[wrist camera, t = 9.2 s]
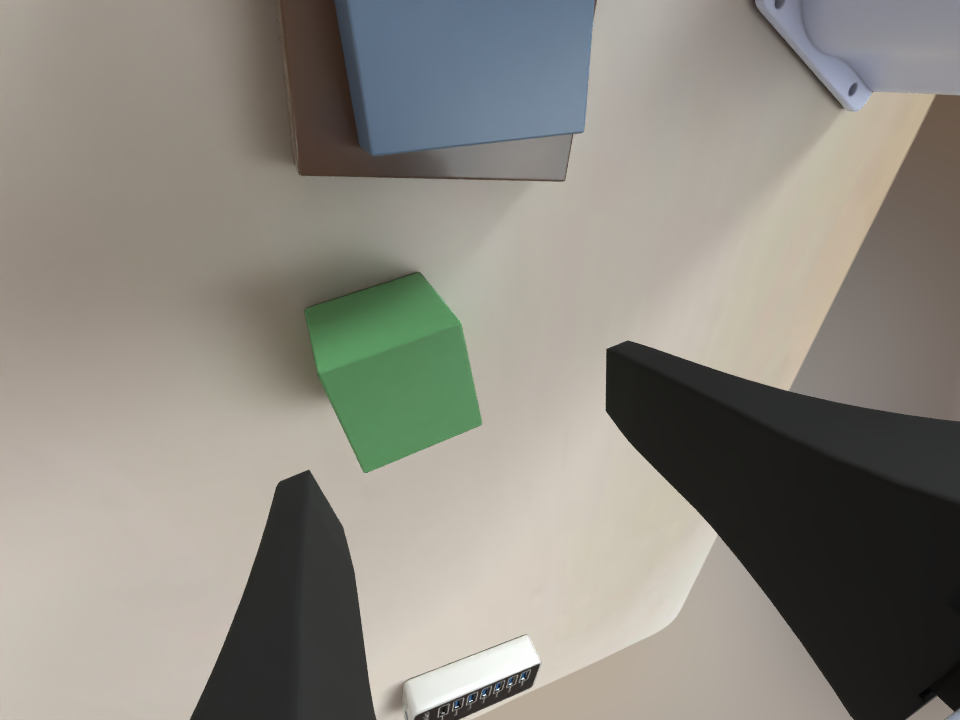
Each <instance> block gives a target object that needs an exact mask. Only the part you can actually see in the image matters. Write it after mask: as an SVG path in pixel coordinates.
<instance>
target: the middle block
mask: <svg viewBox="0 0 960 720" xmlns="http://www.w3.org/2000/svg"><path fill="white" fill-rule="evenodd" d="M594 1H595V0H334V2H335V8H336V13H337V19H338V25H339V31H340V37H341V42H342V48H343V54H344V60H345V65H346V71H347V77H348V83H349V89H350V94H351V100H352V106H353V112H354V117H355V123H356V129H357V135H358V140H359V145H360V147H361V148H362V149H364V150H365V151H366V152H368V153H369V154H370V155H372V156H381V155H390V154H399V153H408V152H417V151H426V150H435V149H444V148H453V147H461V146H470V145H479V144H488V143H497V142H506V141H515V140H524V139H532V138H541V137H550V136H559V135H568V134H577V133H582V132H584V127H585V114H586V102H587V89H588V77H589V64H590V51H591V39H592V26H593V14H594Z"/></svg>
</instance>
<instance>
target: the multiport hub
mask: <svg viewBox="0 0 960 720" xmlns="http://www.w3.org/2000/svg"><path fill="white" fill-rule="evenodd" d="M541 663H542V661H541V659H540V657H539V655H538V653H537V651H536V649H535V647H534V645H533V643H532V640H531V638H530V636H529V635H524V636H522V637H519V638H516V639H514V640H511V641H509V642H506V643H504V644H501V645H498V646H496V647H493V648H491V649H488V650H485V651H483V652H480V653H478V654H475V655H472V656H470V657H467V658H465V659H462V660H459V661H457V662H454V663H452V664H449V665H446V666H444V667H441V668H439V669H436V670H434V671H431V672H428V673H426V674H423V675H421V676H418V677H415V678H413V679H410V680H408V681H406V682H405V683H404V687H403V700H402V709H403V714H404V718H405V720H459V719H462V718H464V717H466V716H469V715H471V714H473V713H475V712H478V711H480V710H482V709H484V708H487V707H489V706H491V705H493V704H496V703H498V702H500V701H503V700H505V699H507V698H509V697H512V696H514V695H516V694H518V693H521V692H523V691H525V690H527V689H530V688H531V687H532V686H533V685H534V683H535V680H536V677H537V674H538V671H539V669H540V666H541Z"/></svg>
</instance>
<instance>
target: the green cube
mask: <svg viewBox="0 0 960 720" xmlns="http://www.w3.org/2000/svg"><path fill="white" fill-rule="evenodd" d="M304 312H305V317H306V322H307V327H308V331H309V336H310V341H311V346H312V351H313V356H314V361H315V366H316V370H317V375H318V377H319V379H320V381H321V383H322V385H323V388H324V390H325V392H326V394H327V396H328V398H329V400H330V402H331V404H332V407H333V409H334V411H335V413H336V415H337V417H338V419H339V421H340V424H341V426H342V428H343V430H344V432H345V434H346V436H347V438H348V440H349V443H350V445H351V447H352V449H353V451H354V453H355V455H356V457H357V460H358V462H359V464H360V466H361V468H362V470H363V472H364V473H368V472H370V471H372V470H375V469H377V468H380V467H382V466H384V465H387V464H389V463H392V462H394V461H396V460H399V459H401V458H404V457H406V456H408V455H411V454H413V453H416V452H418V451H420V450H423V449H425V448H428V447H430V446H432V445H435V444H437V443H440V442H442V441H444V440H447V439H449V438H452V437H454V436H456V435H459V434H461V433H464V432H466V431H468V430H471V429H473V428H476V427H478V426H480V425H482V420H481V415H480V410H479V405H478V401H477V396H476V391H475V386H474V382H473V377H472V372H471V367H470V362H469V358H468V353H467V348H466V343H465V339H464V334H463V329H462V324H461V322H460V321H459V320H458V318H457V317H456V316H455V315H454V314H453V312H452V311H451V310H450V309H449V307H448V306H447V305H446V304H445V302H444V301H443V300H442V299H441V297H440V296H439V295H438V294H437V292H436V291H435V290H434V289H433V287H432V286H431V285H430V284H429V283H428V281H427V280H426V279H425V278H424V276H423V275H422V274H421V273H420V272H418V273H415V274H412V275H408V276H405V277H402V278H399V279H396V280H393V281H390V282H387V283H383V284H380V285H377V286H374V287H371V288H368V289H365V290H362V291H358V292H355V293H352V294H349V295H346V296H343V297H340V298H337V299H334V300H330V301H327V302H324V303H321V304H318V305H315V306H312V307H309V308H306V309H305V310H304Z"/></svg>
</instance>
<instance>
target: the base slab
mask: <svg viewBox="0 0 960 720" xmlns="http://www.w3.org/2000/svg"><path fill="white" fill-rule="evenodd" d="M596 1H597V0H595V1H594V13H595V7H596ZM276 5H277V14H278V23H279V32H280V40H281V49H282V58H283V67H284V76H285V85H286V94H287V103H288V111H289V120H290V129H291V138H292V147H293V156H294V163H295V166H296V168H297V171H298V173H299V175H301V176H335V177H379V178H423V179H467V180H511V181H555V182H563V181H565V178H566V173H567V167H568V161H569V155H570V150H571V144H572V138H573V134H568V135H559V136H550V137H541V138H532V139H524V140H515V141H506V142H497V143H488V144H479V145H470V146H461V147H453V148H444V149H435V150H426V151H417V152H408V153H399V154H390V155H381V156H372V155H370V154H369V153H368V152H366V151H365V150H364V149H362V148H361V147H360V145H359V140H358V135H357V129H356V123H355V117H354V112H353V106H352V100H351V94H350V89H349V83H348V77H347V71H346V65H345V60H344V54H343V48H342V42H341V37H340V31H339V25H338V19H337V13H336V8H335V2H334V0H276ZM593 18H594V14H593Z"/></svg>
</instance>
